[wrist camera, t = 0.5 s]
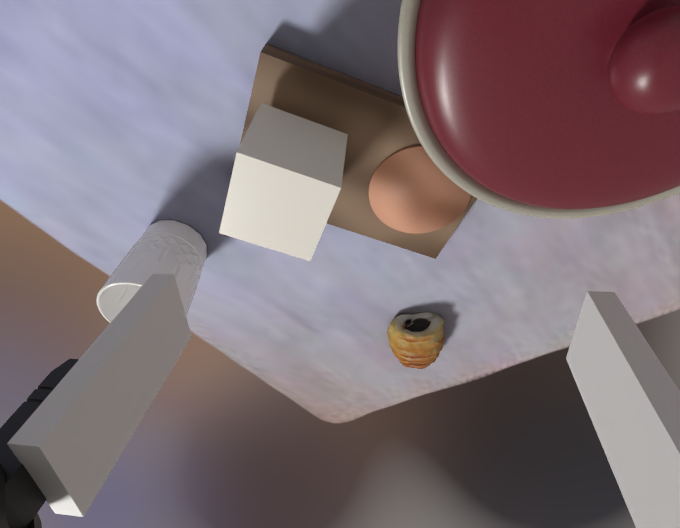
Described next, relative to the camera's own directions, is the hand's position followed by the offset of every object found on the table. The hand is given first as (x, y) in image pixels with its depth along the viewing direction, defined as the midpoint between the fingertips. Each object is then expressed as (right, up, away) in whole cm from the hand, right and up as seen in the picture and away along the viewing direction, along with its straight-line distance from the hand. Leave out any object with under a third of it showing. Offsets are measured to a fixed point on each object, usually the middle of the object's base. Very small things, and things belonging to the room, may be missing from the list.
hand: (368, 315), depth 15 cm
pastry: (+9, -7, +42) cm, 43 cm away
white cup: (-19, +4, +34) cm, 39 cm away
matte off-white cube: (-5, +10, +22) cm, 25 cm away
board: (+1, +11, +26) cm, 28 cm away
